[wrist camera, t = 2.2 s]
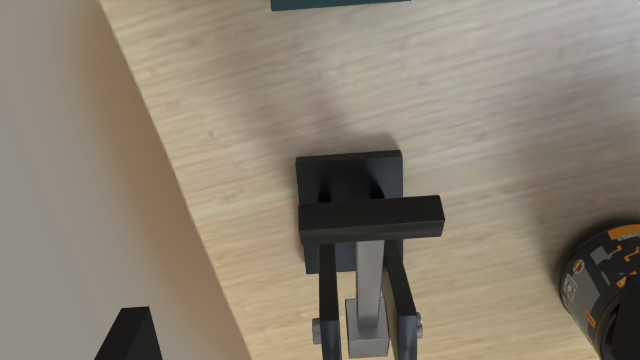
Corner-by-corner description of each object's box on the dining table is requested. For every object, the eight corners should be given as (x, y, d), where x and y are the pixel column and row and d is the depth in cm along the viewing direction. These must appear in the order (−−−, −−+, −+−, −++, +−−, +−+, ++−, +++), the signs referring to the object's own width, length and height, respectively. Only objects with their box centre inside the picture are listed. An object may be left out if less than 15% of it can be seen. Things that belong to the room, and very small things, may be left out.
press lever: (298, 191, 20) (298, 243, 19) (437, 181, 20) (449, 234, 19) (318, 320, 31) (320, 360, 29) (410, 314, 30) (417, 355, 29)
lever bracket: (295, 157, 40) (284, 276, 25) (400, 149, 39) (448, 266, 25) (306, 266, 44) (302, 423, 29) (401, 260, 43) (443, 415, 29)
